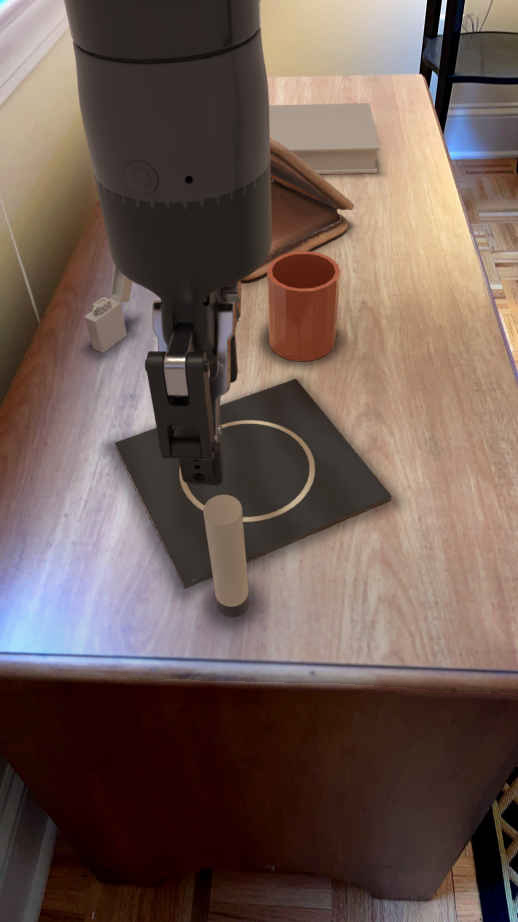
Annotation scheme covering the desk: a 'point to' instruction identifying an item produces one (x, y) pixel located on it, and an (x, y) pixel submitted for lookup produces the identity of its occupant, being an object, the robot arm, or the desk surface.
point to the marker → (227, 553)
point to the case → (300, 207)
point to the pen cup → (303, 305)
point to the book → (327, 136)
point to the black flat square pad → (256, 478)
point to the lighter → (109, 314)
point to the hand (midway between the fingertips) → (212, 426)
